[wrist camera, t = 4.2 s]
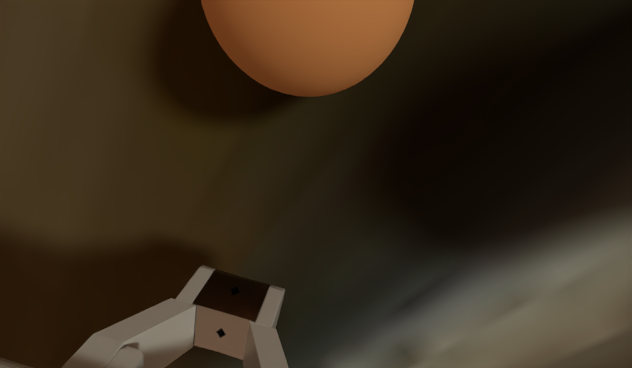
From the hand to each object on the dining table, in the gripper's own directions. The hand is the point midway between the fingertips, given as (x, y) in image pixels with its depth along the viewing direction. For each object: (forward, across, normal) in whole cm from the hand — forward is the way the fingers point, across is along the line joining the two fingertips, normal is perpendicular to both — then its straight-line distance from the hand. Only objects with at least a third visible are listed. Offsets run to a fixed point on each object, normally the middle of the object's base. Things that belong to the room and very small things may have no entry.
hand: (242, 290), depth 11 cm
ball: (+2, 0, -9) cm, 10 cm away
